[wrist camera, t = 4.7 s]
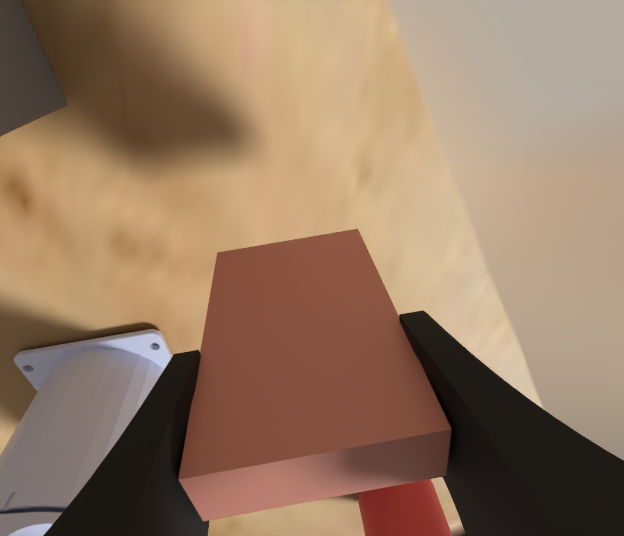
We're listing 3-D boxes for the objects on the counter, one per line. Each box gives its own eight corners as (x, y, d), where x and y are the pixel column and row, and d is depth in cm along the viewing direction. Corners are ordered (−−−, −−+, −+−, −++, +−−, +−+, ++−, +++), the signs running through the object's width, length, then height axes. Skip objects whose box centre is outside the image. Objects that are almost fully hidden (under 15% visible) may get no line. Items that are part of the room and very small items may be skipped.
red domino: (360, 266, 15) (445, 475, 8) (228, 288, 14) (203, 521, 8) (357, 228, 14) (451, 429, 7) (217, 252, 14) (178, 479, 7)
